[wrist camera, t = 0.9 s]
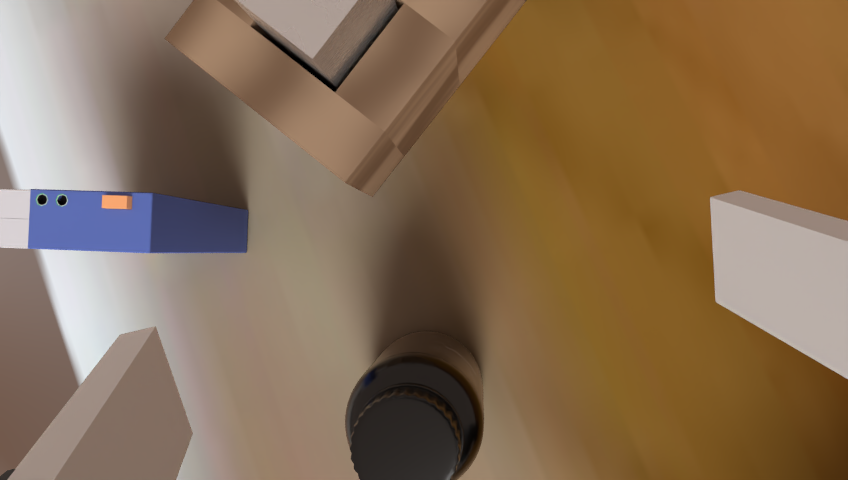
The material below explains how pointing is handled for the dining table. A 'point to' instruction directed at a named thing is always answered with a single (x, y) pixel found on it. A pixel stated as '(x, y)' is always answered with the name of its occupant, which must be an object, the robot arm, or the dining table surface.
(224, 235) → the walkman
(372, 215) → the dining table surface
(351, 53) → the peg
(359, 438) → the supplement bottle
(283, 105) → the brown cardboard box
